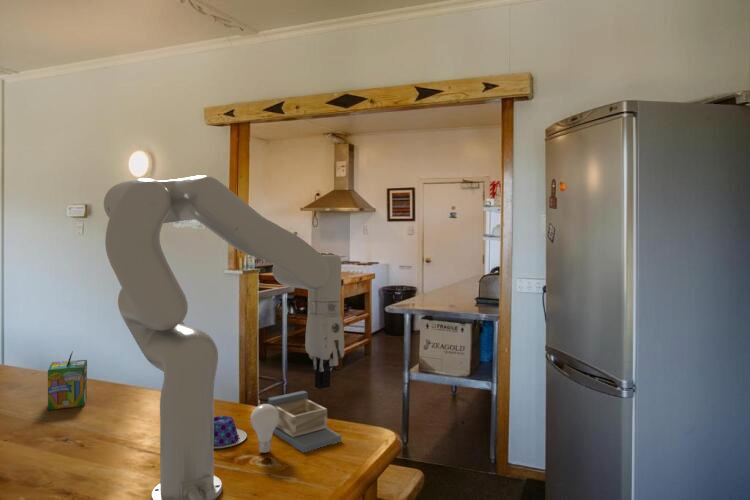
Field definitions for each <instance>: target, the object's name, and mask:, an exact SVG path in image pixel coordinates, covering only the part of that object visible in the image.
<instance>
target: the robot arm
mask: <svg viewBox="0 0 750 500" xmlns="http://www.w3.org/2000/svg"><path fill="white" fill-rule="evenodd" d="M103 208H104V211H105V213H106V216H107V217H108V223H107V226H106V230H105V244H104V245H105V251H106V255H107V259H108V261H109V264H110V267H111V269H112V270H113V272H114V274H115V276H116V278H117V281H118V282H119V285H120V286H121V289H120V291H119V294H118V295H117V296H118V297H117V306H118V310H119V313H120V315H121V318H122V320H123V322H124V323H125V325H126V326H127V329H128V330H129V332H130V333H131V335H132V337H133V339H134V341H135V342H136V344H137V346H138V347H139V349H140V351H141V353H142V354H143V355H144V357H145V359H146V360H147V362H149V363H150V364H151V365H152V366H153V367H155V368H156V369H158V370H160V371H162V372H163V382H162V387H161V391H160V399H159V417H160V418H159V420H160V421H159V425H160V426H159V431H160V432H159V435H160V436H159V441H160V443H159V447H160V449H159V452H160V453H159V458H160V459H159V462H160V463H159V464H160V466H159V468H160V469H159V470H160V472H159V473H160V475H159V476H160V477H159V478H160V483H159V484H157V485H156V486H155V487H154V488H152V489H153V490H152V491H151V494H150V495H151V497H150V498H151V499H150V500H216V499H218V497H219V496H220V495H221V493H222V491H223V482H222V480H221V479H220V478H219V477H218V476H216V475H215V474H214V473H215V471H214V470H215V469H214V468H215V465H214V462H215V460H214V459H215V458H214V456H215V455H214V454H215V453H214V452H215V451H214V450H215V448H214V447H215V446H214V418H215V413H214V411H215V409H214V407H215V406H214V405H215V403H214V399H215V398H214V397H215V394H214V393H215V381H216V375H217V369H218V364H219V351H218V348H217V347H218V346H217V344H216V343H215V340H213V338H212V337H211V336H210V335H209V334H208V333H206V332H205V331H203V330H201V329H199V328H195V327H192V326H190V325H186V324H185V323H184V321H185V319H186V316H187V314H188V311H189V310H188V309H189V308H188V307H189V305H188V301H187V297H186V295H185V293H184V291H183V289H182V287H181V285H180V283H179V282H178V280H177V278H176V276H175V274H174V273H173V271H172V268H171V266H170V265H169V263H168V261H167V258H166V256H165V254H164V252H163V249H162V246H161V241H160V240H161V239H160V238H161V236H160V235H161V229H162V228H163V224H168V223H169V224H170V223H176V222H182V221H183V222H184V221H190V220H191V221H192V220H193V221H194V220H196V221H197V222H198V223H200V224H201V225H203V226H204V227H206V228H207V229H208V230H210V231H211V232H213V234H216V236H218V237H219V238H221V239H222V240H223V241H224V242H226V243H227V244H229V245H230V246H231V247H232V248H233V249H235V250H237V251H239V252H241V253H243V254H245V255H248V256H251V257H254V258H256V259H257V258H258V259H260V260H263V261H267V262H268V263H271V264H272V265H273V266H272V268H271V269H272V270H271V271H272V276H273V278H274V279H275V280H276V281H277V283H279V284H280V285H282V286H284V287H288V288H289V287H290V288H293V289H302V290H307V293H308V294H307V319H306V324H305V325H306V326H305V338H304V339H305V341H304V342H305V347H304V348H305V353H307V354H308V358H309V359H311V360H312V363H313V370H314V387H315V388H317V389H319V390H322V389H326V388H327V389H328V388H330V386H331V371H332V370H333V367H336V366H339V359H343V358H344V357H345V333H344V323H343V316H342V315H341V302H342V301H341V299H342V258H341V257H340V256H339V255H336V254H321V253H320V252H319V251H317V250H316V249H315V248H314V247H313V246H312V245H310V244H309V243H308V242H307V241H306V240H304V239H302V237H300V236H298V235H296V234H294V233H293V232H291V231H289V230H287V229H285V228H283V227H282V226H280V225H278V224H277V223H275V222H274V221H273V222H272V221H271V220H269V219H267V218H265V217H264V216H263V215H261V214H260V213H259V212H257V211H256V210H255V209H254V208H253V207H252V206H250V205H249V204H248V203H246V202H245V201H244V200H243V199H242V198H241V197H240V196H238V195H237V194H236V193H235V192H233V191H232V190H231V189H230V188H229V187H227V185H225V184H224V183H222V182H221V181H219V180H218V179H217V178H215V177H213V176H210V175H201V174H200V175H195V176H188V177H183V178H177V179H167V180H156V179H153V178H148V177H147V178H145V177H142V178H141V177H140V178H135V179H131V180H128V181H122V182H119V183H117V184H115V185H113V186H111V188H110V189H108V190H107V192H106V193H105V195H104V199H103Z"/></svg>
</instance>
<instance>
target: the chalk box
mask: <svg viewBox="0 0 750 500" xmlns="http://www.w3.org/2000/svg"><path fill="white" fill-rule="evenodd" d="M73 352H74V351H71V353H70V355H69V358H68V360H65V361H64V360H63V361H52V362H51V364H50V366H49V367H48V370H47V411H52V410H60V409H61V410H62V409H69V408H79V407H84V406H86V401H87V397H88V395H87V393H88V391H87V387H88V386H87V379H88V378H87V377H88V360H87V359H82V360H81V359H80V360H72V356H73Z"/></svg>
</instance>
